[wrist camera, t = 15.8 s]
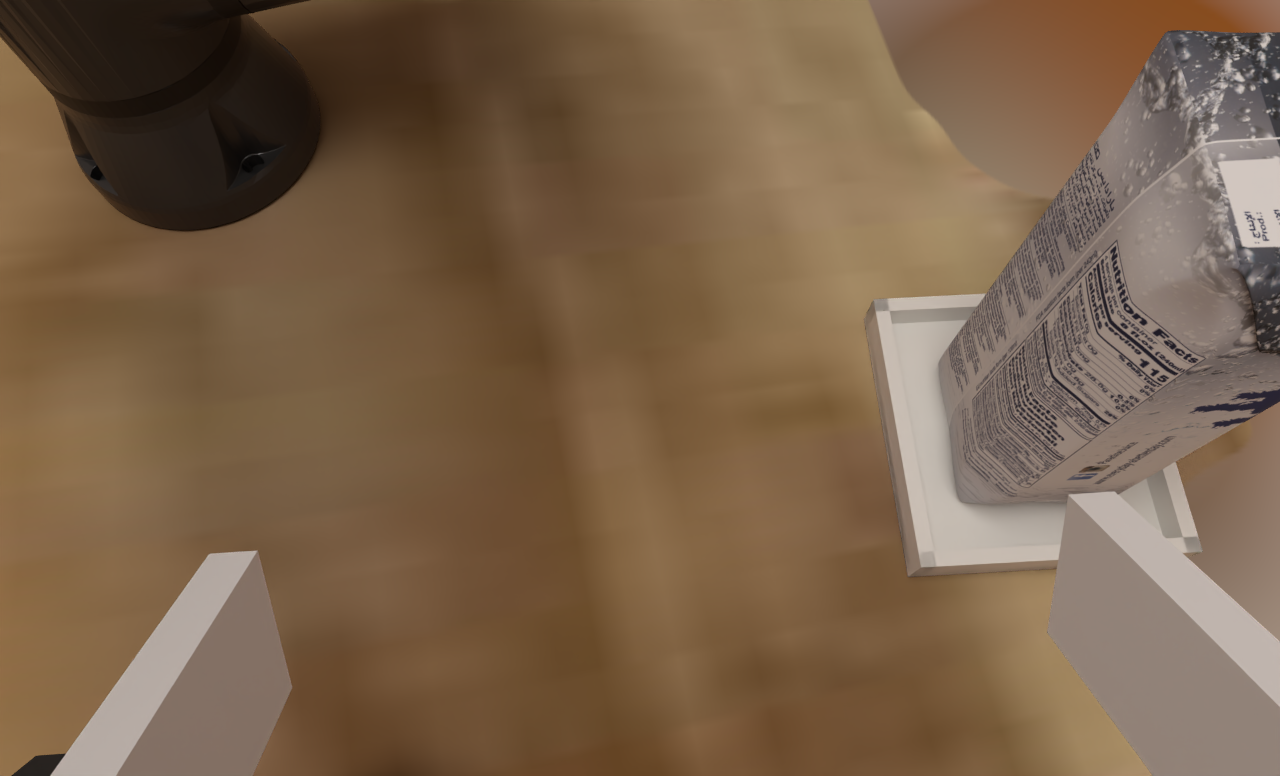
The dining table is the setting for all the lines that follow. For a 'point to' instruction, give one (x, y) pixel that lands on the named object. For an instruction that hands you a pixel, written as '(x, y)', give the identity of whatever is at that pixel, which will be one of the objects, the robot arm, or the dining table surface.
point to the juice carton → (1134, 290)
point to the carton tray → (923, 467)
